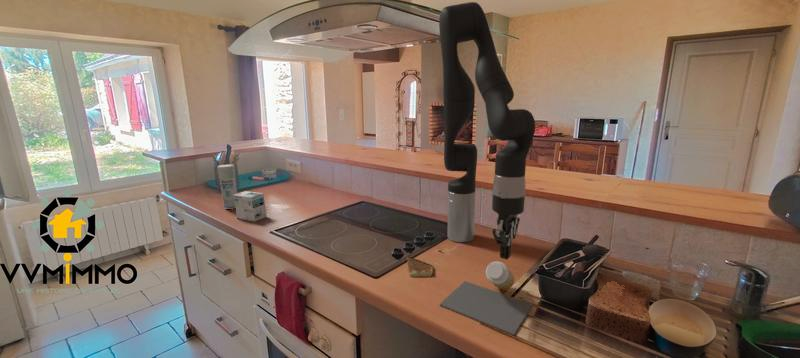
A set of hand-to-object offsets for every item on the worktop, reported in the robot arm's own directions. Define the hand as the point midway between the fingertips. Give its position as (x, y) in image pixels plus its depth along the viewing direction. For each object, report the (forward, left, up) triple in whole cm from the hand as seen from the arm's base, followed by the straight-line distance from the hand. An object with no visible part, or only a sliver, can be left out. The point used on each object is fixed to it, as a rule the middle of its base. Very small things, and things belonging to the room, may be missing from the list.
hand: (504, 257), depth 88 cm
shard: (+6, -24, -9) cm, 27 cm away
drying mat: (+10, 0, -9) cm, 13 cm away
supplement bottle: (-1, 0, -7) cm, 7 cm away
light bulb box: (+10, -106, -9) cm, 107 cm away
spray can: (+8, -127, -9) cm, 128 cm away
